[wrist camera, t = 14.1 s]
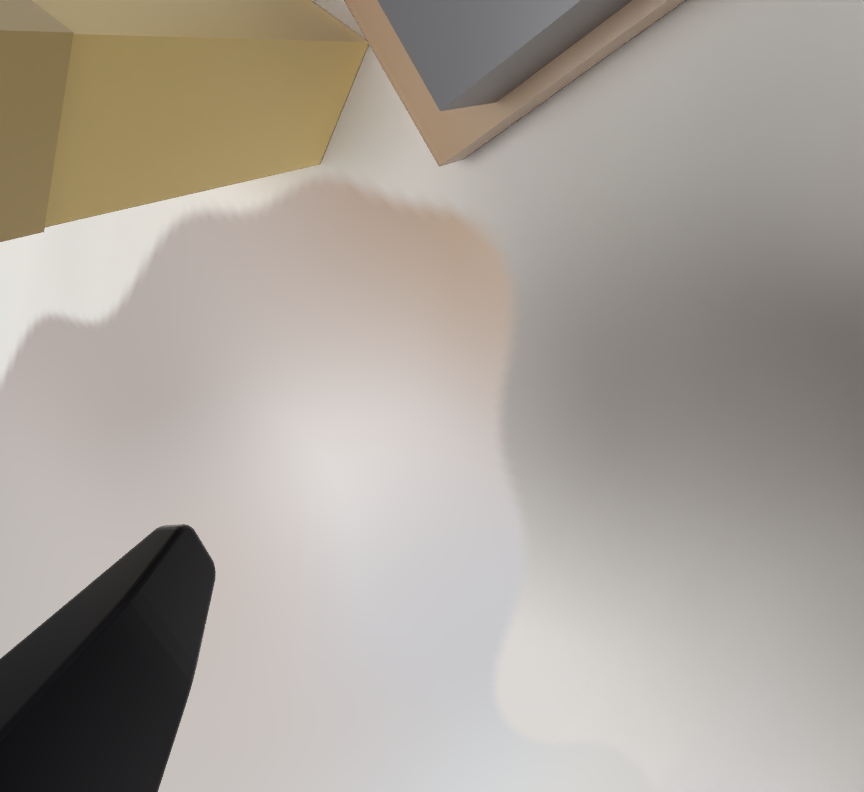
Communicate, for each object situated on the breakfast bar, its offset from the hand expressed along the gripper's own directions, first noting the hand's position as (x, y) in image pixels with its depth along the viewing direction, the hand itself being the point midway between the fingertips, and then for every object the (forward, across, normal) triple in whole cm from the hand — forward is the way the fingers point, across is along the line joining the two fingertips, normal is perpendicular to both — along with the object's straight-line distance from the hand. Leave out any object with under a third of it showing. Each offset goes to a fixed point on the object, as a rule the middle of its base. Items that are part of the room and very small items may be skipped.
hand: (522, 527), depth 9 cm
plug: (+14, +6, -4) cm, 16 cm away
